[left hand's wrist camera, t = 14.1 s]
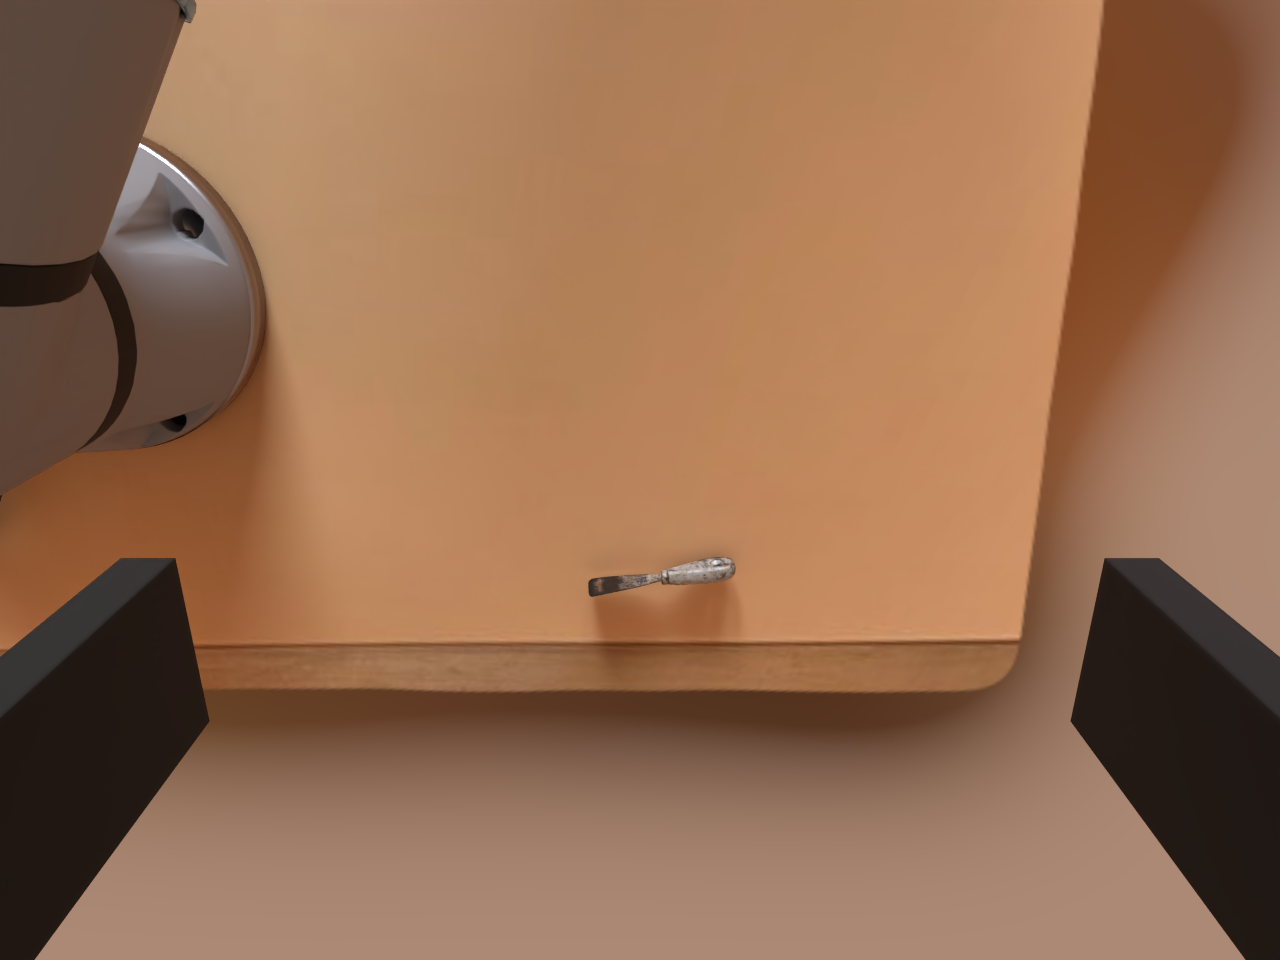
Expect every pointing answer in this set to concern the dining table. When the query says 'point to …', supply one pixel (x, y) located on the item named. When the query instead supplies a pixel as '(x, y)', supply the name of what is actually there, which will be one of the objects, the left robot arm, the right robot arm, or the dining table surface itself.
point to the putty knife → (668, 576)
